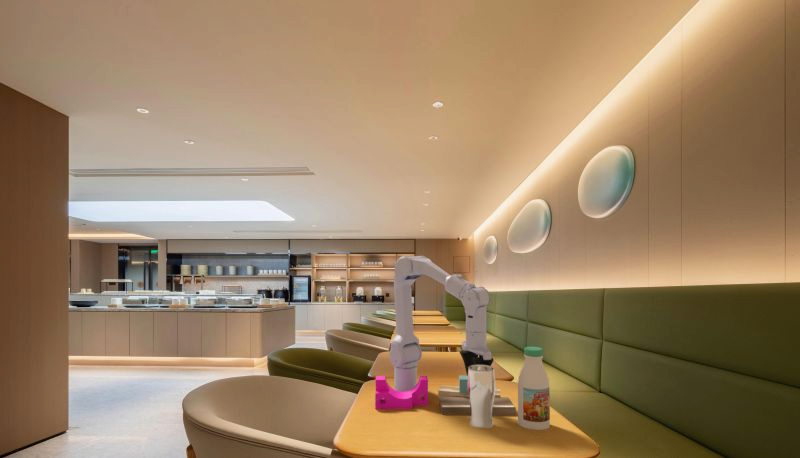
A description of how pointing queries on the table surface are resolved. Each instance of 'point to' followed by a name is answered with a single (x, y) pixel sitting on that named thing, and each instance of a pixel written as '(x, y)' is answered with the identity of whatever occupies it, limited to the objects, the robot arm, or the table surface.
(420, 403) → the pink pipe cradle
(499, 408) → the dock
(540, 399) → the milk bottle
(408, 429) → the table surface
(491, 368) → the silver metal tumbler
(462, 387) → the teal cube
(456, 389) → the tan tray
